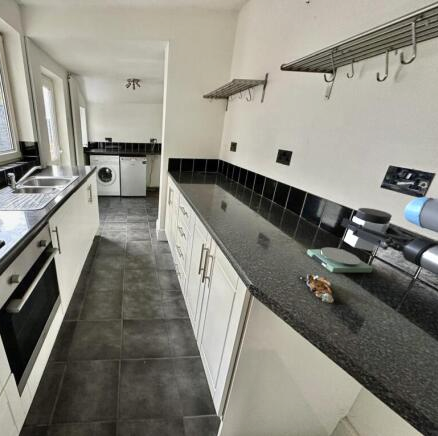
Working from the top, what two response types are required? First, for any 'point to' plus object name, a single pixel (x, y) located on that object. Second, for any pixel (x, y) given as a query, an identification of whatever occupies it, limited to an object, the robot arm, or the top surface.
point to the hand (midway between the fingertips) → (355, 221)
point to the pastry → (320, 287)
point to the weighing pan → (340, 256)
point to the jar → (368, 226)
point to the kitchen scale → (338, 267)
